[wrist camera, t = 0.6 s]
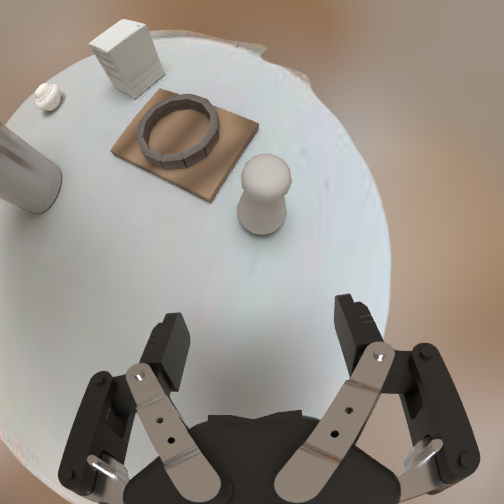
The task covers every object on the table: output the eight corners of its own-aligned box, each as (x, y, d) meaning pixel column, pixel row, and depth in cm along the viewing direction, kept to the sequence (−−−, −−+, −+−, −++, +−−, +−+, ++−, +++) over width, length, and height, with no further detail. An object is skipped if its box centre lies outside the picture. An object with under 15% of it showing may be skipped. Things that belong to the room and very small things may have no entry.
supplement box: (143, 63, 39) (123, 17, 26) (166, 74, 38) (147, 23, 26) (113, 87, 38) (87, 43, 25) (134, 100, 37) (107, 51, 25)
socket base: (114, 155, 36) (102, 142, 32) (162, 94, 37) (155, 78, 33) (210, 203, 34) (206, 192, 30) (258, 129, 36) (259, 113, 32)
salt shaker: (260, 248, 34) (265, 220, 21) (228, 215, 34) (216, 172, 21) (293, 217, 34) (316, 174, 21) (261, 186, 35) (267, 131, 22)
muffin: (42, 121, 37) (25, 105, 30) (46, 102, 38) (30, 85, 31) (64, 107, 38) (47, 89, 31) (68, 89, 38) (53, 70, 32)
